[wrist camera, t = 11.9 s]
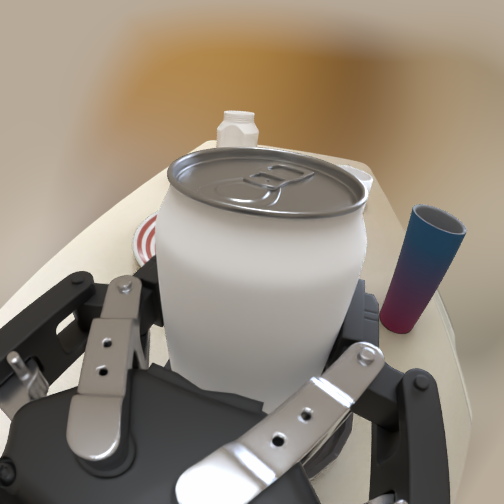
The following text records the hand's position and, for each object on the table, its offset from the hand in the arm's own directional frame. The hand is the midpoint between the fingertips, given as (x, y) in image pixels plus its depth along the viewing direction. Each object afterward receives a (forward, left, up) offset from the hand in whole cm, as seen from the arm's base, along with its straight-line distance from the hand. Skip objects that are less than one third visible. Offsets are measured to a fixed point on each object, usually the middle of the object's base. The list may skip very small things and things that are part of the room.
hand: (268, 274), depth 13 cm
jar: (-22, -72, -18) cm, 77 cm away
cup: (-24, -8, -18) cm, 31 cm away
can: (+1, +2, -7) cm, 7 cm away
